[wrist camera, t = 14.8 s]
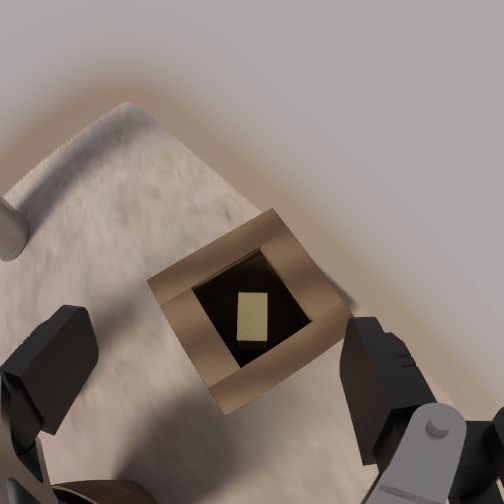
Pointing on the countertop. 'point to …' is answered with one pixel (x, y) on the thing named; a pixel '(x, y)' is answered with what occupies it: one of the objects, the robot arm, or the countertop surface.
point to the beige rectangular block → (252, 321)
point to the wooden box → (227, 273)
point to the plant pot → (101, 492)
